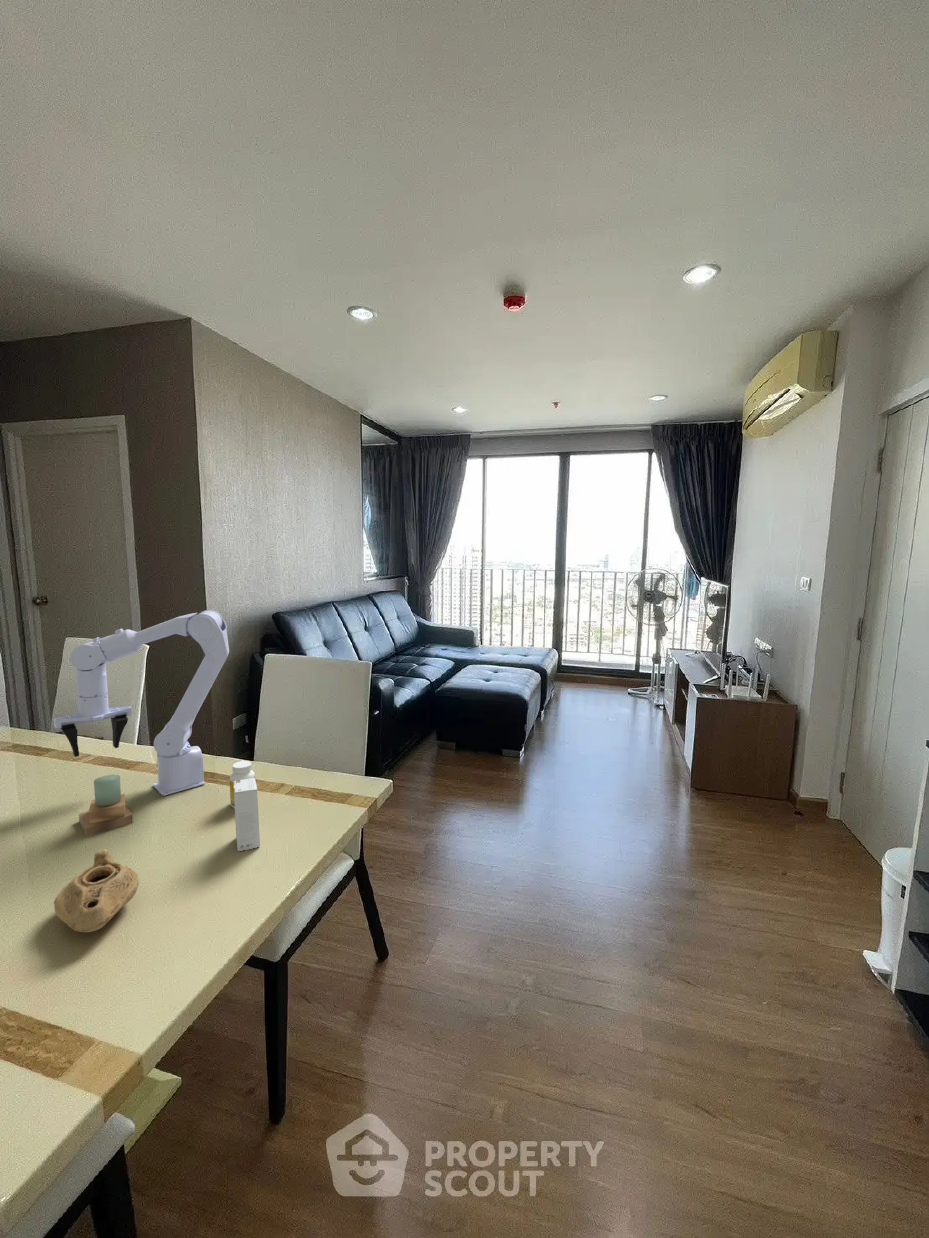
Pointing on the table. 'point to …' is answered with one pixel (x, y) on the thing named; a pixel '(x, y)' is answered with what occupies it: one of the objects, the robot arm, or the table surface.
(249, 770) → the supplement bottle
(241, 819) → the skincare box
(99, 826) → the base block
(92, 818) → the top block
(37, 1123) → the table surface
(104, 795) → the green cylinder
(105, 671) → the robot arm
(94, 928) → the oil lamp
